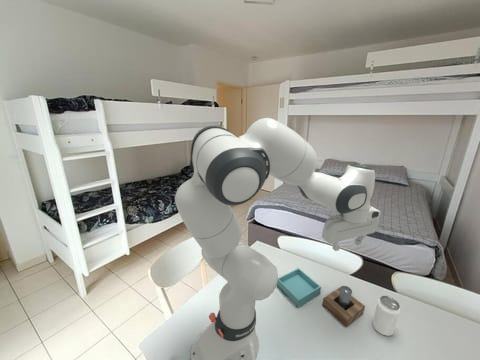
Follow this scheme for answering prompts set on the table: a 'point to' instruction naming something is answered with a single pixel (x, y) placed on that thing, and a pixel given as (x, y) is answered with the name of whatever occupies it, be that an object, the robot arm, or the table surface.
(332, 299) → the pin block
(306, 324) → the table surface
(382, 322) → the can
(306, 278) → the tray
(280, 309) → the table surface
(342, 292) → the pin
